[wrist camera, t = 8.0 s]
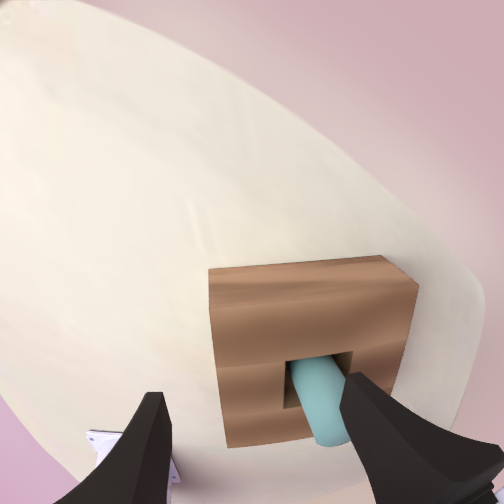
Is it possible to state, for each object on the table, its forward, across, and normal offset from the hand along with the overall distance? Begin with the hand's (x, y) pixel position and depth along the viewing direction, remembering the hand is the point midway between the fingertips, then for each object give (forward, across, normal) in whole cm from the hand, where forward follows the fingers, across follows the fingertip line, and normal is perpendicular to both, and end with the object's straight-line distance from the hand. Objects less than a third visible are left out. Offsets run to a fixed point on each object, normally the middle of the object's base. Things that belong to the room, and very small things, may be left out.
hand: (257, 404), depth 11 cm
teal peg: (+9, -4, +4) cm, 11 cm away
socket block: (+10, -4, +4) cm, 12 cm away
